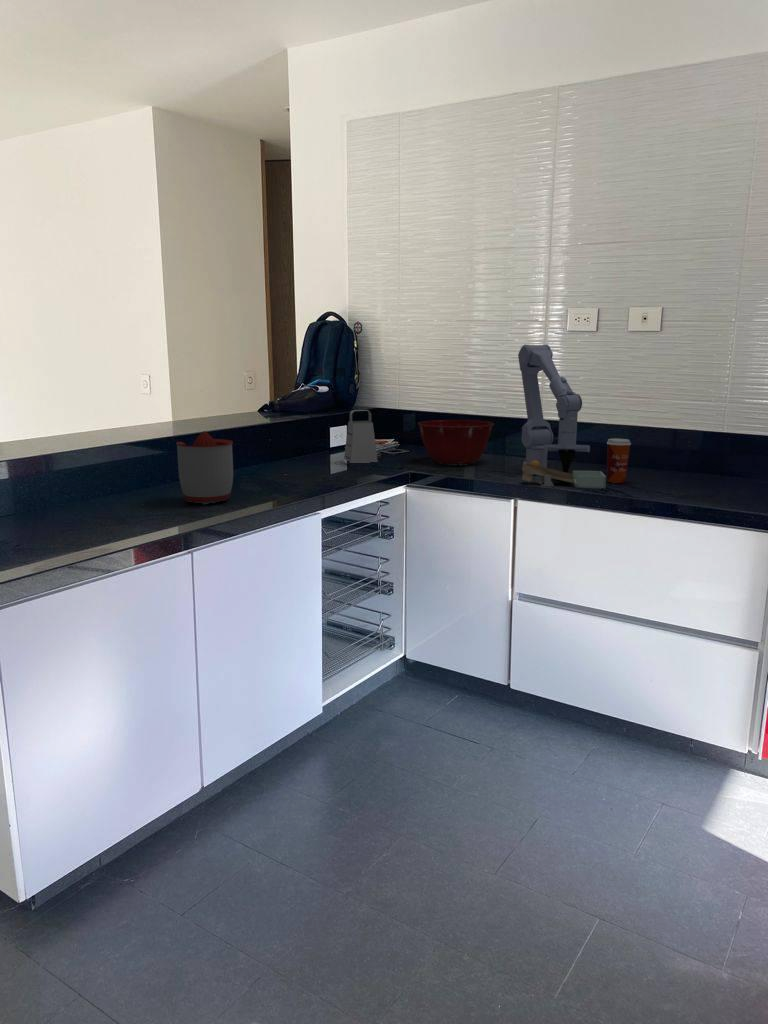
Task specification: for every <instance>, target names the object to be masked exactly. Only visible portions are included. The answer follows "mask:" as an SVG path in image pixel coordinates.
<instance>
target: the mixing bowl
mask: <svg viewBox="0 0 768 1024" xmlns="http://www.w3.org/2000/svg"><path fill="white" fill-rule="evenodd" d="M417 425H418V428H419V432H420V436H421V439H422V442H423V445H424V447H425V449H426V451H427V453H428V456H429V457H430V458H431V459H432V460H433V461H434V462H436V463H437V462H438V463H442V464H457V465H459V464H470V465H473V464H474V463H476V461H478V460H480V458H481V456H482V454H483V453H484V451H485V449H486V447H487V445H488V443H489V440H490V436H491V434H492V430H493V426H494V425H495V424H494V422H491V421H484V420H472V419H470V420H469V419H467V420H466V419H440V420H439V419H437V420H436V419H435V420H425V421H419V422H417ZM438 463H437V464H438ZM472 463H473V464H472ZM459 466H460V465H459Z"/></svg>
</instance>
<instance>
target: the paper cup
mask: <svg viewBox="0 0 768 1024" xmlns="http://www.w3.org/2000/svg"><path fill="white" fill-rule="evenodd" d="M606 445H607V447H606V451H607V453H606V456H607V457H606V482H607V481H608V482H612V483H611V484H614V483H623V484H625V482H626V477H627V471H628V464H629V455H630V449H631V448H630V447H631V445H632V443H631V441H630V439H627V438H608V439H607V442H606ZM608 482H607V483H608Z"/></svg>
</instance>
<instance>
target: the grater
mask: <svg viewBox="0 0 768 1024" xmlns="http://www.w3.org/2000/svg"><path fill="white" fill-rule="evenodd" d="M365 411H367V412H368V420H353V414H354V413H355V412H365ZM375 436H376V435H375V430H374V422H372V412H371V411H370V410H368V409H355V410H354V409H353V410H351V411H350V412H349V421H348V422H347V431H346V440H345V448H344V455H343V456H344V457H343V460H344V459H346V460H347V461H349V462H350V463H370V462H378V463H379V461H378V453H377V446H376V438H375Z"/></svg>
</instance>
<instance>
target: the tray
mask: <svg viewBox="0 0 768 1024" xmlns="http://www.w3.org/2000/svg"><path fill="white" fill-rule="evenodd" d="M572 476H574V478H573V482H572V484H573V485H574V487H575V488H576V489H593V490H595V489H597V490H598V489H602V488H603V489H602V490H606V488H607V475H605V474H604V472H603V471H602V470H572Z"/></svg>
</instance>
